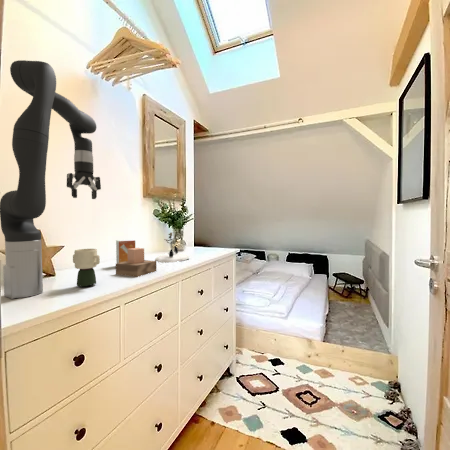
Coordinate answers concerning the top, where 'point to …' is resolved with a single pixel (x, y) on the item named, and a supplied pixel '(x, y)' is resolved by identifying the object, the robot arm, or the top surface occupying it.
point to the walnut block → (135, 268)
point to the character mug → (86, 266)
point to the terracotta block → (136, 255)
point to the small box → (123, 249)
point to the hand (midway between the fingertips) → (84, 198)
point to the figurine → (172, 254)
